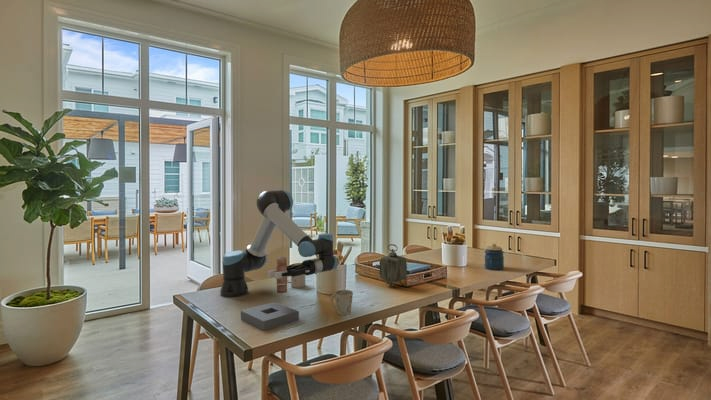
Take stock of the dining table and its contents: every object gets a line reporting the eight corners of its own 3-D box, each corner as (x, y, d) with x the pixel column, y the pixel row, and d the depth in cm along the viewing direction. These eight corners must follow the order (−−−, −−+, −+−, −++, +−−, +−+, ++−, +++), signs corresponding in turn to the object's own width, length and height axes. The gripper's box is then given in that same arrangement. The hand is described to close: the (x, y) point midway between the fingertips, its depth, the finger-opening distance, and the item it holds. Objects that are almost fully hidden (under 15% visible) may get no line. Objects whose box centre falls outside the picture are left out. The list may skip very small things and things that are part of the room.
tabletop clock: (407, 286, 232) (406, 244, 231) (398, 289, 225) (398, 246, 224) (387, 282, 241) (386, 242, 240) (378, 285, 235) (377, 244, 233)
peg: (274, 291, 185) (273, 258, 184) (283, 289, 188) (282, 256, 188) (280, 294, 181) (279, 259, 181) (289, 291, 185) (288, 258, 184)
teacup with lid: (303, 283, 243) (303, 264, 242) (307, 287, 234) (307, 267, 234) (284, 285, 238) (283, 266, 237) (287, 289, 229) (287, 269, 229)
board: (240, 319, 180) (240, 310, 180) (274, 310, 192) (274, 301, 192) (263, 330, 165) (263, 321, 165) (298, 319, 178) (298, 311, 178)
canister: (486, 270, 272) (486, 244, 271) (483, 266, 284) (483, 242, 284) (505, 270, 270) (505, 245, 269) (501, 266, 282) (501, 242, 282)
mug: (346, 317, 180) (346, 295, 180) (324, 312, 187) (324, 292, 187) (356, 312, 188) (356, 291, 187) (334, 307, 194) (334, 287, 194)
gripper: (323, 277, 191) (283, 286, 175) (300, 271, 204) (261, 279, 187) (322, 261, 191) (282, 269, 174) (300, 257, 203) (261, 264, 187)
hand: (271, 274), depth 181 cm, fingers closed on peg, 5 cm apart
